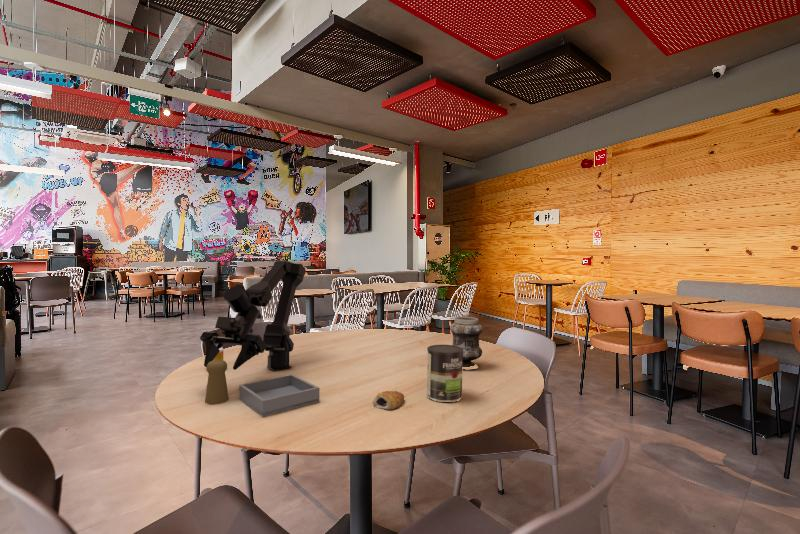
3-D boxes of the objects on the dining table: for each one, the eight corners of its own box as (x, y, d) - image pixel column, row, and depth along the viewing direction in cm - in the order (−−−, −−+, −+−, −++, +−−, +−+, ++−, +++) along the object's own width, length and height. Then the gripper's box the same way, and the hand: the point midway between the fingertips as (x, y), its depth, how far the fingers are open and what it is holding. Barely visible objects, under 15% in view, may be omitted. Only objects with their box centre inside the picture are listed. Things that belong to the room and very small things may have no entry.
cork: (219, 405, 108) (219, 364, 108) (199, 403, 109) (199, 363, 109) (233, 397, 114) (233, 358, 114) (214, 395, 115) (214, 357, 115)
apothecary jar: (486, 365, 150) (487, 317, 150) (474, 373, 140) (475, 321, 139) (456, 360, 157) (457, 314, 156) (443, 367, 147) (443, 318, 146)
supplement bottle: (226, 368, 142) (226, 341, 142) (214, 372, 137) (214, 344, 137) (215, 366, 144) (215, 339, 144) (202, 370, 140) (202, 342, 139)
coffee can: (469, 399, 115) (470, 350, 115) (439, 405, 110) (439, 354, 110) (449, 388, 124) (449, 342, 124) (419, 393, 119) (420, 346, 119)
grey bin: (292, 387, 123) (292, 374, 123) (319, 402, 112) (319, 387, 111) (239, 399, 113) (239, 384, 113) (262, 417, 101) (262, 401, 101)
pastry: (390, 397, 117) (390, 384, 117) (410, 402, 113) (410, 388, 113) (370, 407, 109) (370, 393, 109) (391, 413, 105) (391, 398, 105)
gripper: (204, 304, 119) (175, 349, 109) (260, 306, 115) (236, 354, 105) (221, 326, 127) (196, 370, 117) (275, 329, 123) (253, 376, 113)
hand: (219, 367), depth 112 cm, fingers open, 9 cm apart
